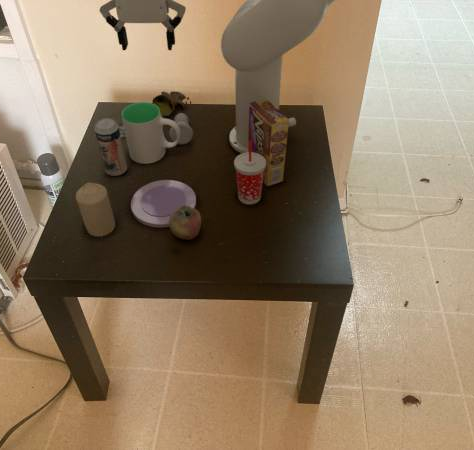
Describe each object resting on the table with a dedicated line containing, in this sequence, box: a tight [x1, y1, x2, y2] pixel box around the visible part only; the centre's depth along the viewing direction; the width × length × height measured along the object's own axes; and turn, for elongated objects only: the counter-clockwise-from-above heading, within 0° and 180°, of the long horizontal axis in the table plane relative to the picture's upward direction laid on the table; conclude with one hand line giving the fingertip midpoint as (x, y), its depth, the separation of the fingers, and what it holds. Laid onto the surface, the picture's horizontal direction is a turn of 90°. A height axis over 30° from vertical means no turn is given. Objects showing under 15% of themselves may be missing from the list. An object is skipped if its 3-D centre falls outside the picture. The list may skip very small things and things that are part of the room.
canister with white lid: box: [94, 117, 128, 176], centre depth 101 cm, size 5×5×12 cm
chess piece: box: [168, 112, 194, 146], centre depth 113 cm, size 5×5×9 cm
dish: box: [130, 179, 197, 229], centre depth 97 cm, size 13×13×1 cm
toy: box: [151, 91, 187, 117], centre depth 122 cm, size 7×5×10 cm
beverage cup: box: [233, 140, 266, 205], centre depth 94 cm, size 6×6×14 cm
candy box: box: [248, 99, 290, 187], centre depth 99 cm, size 9×4×15 cm, turn 27°
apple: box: [168, 206, 202, 241], centre depth 89 cm, size 6×8×6 cm
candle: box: [75, 181, 116, 238], centre depth 90 cm, size 6×6×10 cm
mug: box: [120, 101, 181, 165], centre depth 105 cm, size 12×8×10 cm, turn 87°
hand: (147, 47), depth 104 cm, fingers open, 9 cm apart
